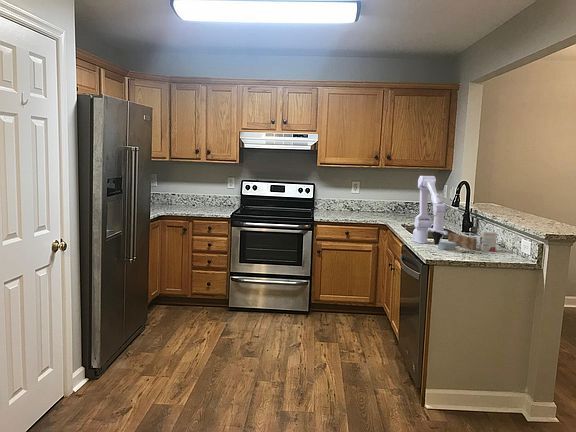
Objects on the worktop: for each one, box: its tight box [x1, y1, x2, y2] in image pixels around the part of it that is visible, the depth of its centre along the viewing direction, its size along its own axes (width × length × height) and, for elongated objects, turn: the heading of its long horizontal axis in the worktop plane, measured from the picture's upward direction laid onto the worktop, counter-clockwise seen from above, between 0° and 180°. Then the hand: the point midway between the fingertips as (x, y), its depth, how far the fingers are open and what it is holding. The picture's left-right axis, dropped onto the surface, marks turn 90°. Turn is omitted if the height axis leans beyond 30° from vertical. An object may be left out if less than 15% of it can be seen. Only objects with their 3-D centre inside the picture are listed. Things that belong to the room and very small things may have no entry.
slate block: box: [437, 240, 457, 251], centre depth 298 cm, size 7×8×4 cm
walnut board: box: [447, 232, 478, 251], centre depth 304 cm, size 20×3×7 cm, turn 28°
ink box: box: [478, 230, 498, 252], centre depth 295 cm, size 9×5×12 cm, turn 92°
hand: (436, 244), depth 294 cm, fingers closed
